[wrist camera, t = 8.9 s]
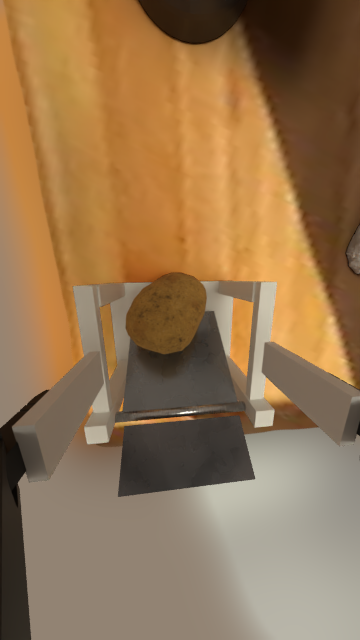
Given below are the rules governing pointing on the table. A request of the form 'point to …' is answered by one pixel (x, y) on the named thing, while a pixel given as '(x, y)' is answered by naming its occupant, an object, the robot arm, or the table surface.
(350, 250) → the stone
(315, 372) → the robot arm
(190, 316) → the potato
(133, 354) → the flap
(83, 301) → the frame
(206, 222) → the table surface
